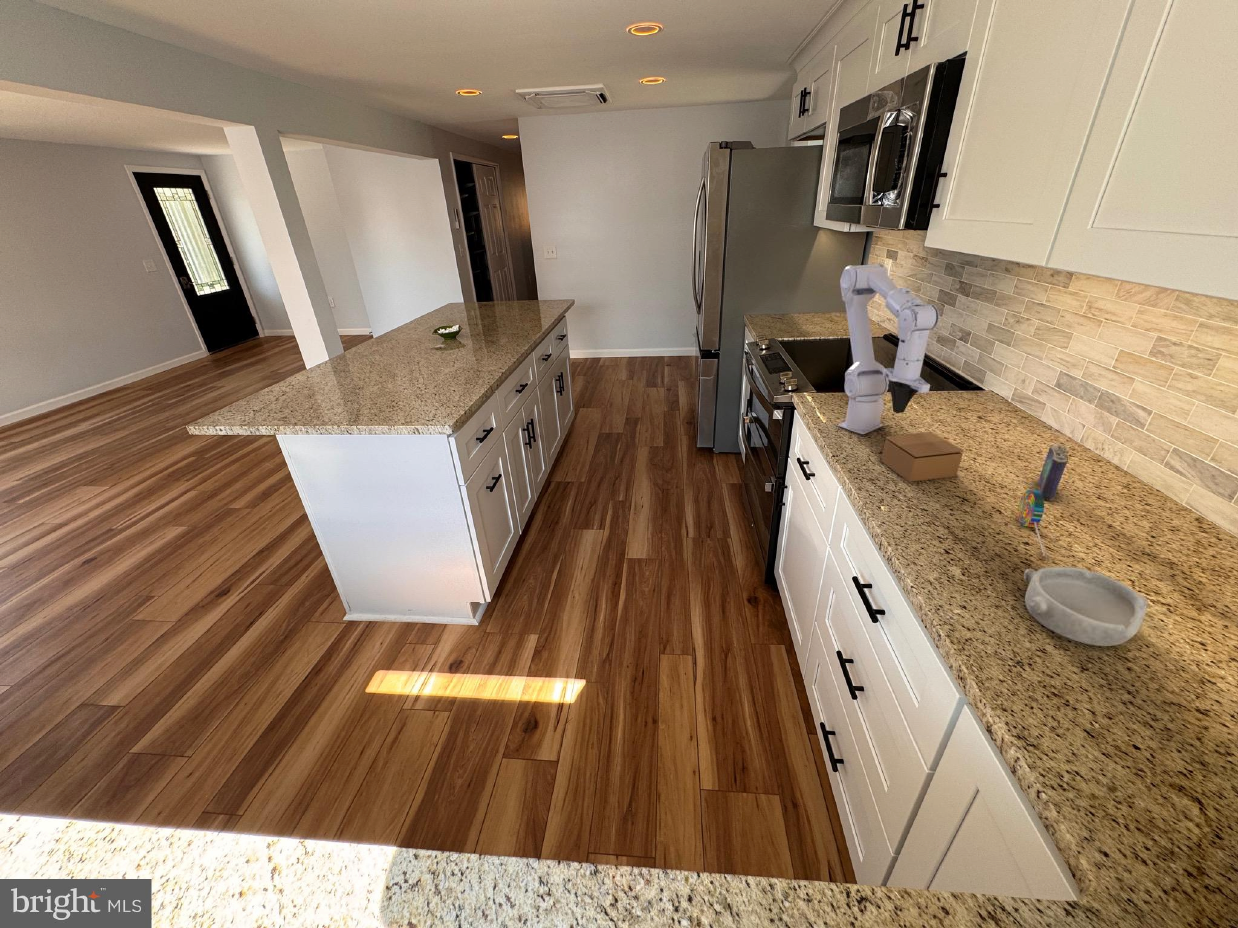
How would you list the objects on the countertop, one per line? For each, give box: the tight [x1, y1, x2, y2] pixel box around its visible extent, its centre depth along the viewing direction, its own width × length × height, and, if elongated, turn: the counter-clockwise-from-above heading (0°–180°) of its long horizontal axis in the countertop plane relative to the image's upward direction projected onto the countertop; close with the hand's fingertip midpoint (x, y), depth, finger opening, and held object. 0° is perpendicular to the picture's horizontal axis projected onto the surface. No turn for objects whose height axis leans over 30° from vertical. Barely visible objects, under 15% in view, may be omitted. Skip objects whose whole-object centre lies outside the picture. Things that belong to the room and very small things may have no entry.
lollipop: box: [1017, 489, 1046, 557], centre depth 96 cm, size 7×1×15 cm
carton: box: [880, 438, 964, 483], centre depth 120 cm, size 11×12×7 cm
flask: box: [1036, 444, 1070, 501], centre depth 108 cm, size 9×3×11 cm, turn 147°
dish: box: [1023, 566, 1149, 647], centre depth 77 cm, size 14×14×5 cm
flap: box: [885, 431, 947, 447], centre depth 121 cm, size 5×12×1 cm, turn 98°
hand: (898, 412), depth 126 cm, fingers closed
